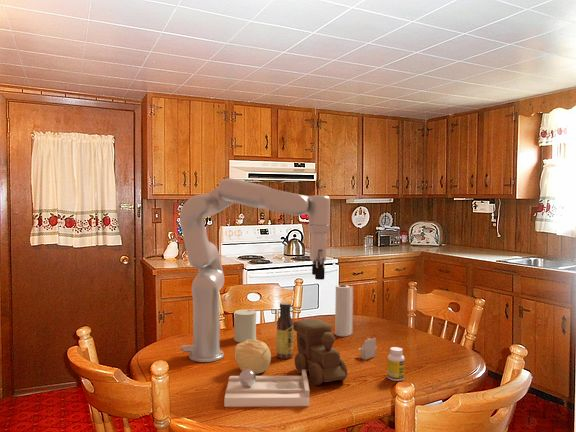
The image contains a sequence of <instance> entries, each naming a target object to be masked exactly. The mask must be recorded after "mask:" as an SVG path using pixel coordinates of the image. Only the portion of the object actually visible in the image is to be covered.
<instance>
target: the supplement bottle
mask: <svg viewBox="0 0 576 432" xmlns="http://www.w3.org/2000/svg"><path fill="white" fill-rule="evenodd" d="M403 350H404V349H403V348H402V347H397V346H392V347H390V348H389V354H388V355H387V371H386V374H387V375H386V377H387V379H389V381H390V380H391V381H396V382H401V381H403V380H404V379H405V360H406V358H405V356H404V355H403V353H404V352H403Z"/></svg>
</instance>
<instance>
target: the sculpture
mask: <svg viewBox="0 0 576 432" xmlns="http://www.w3.org/2000/svg"><path fill="white" fill-rule="evenodd" d="M234 360H235V362H236V363H237V365H238V368H239V369H240V370H241V372H242V371H243V370H246V369H250V370H252V371H253V372H254V373H255V375H259V374H261V373H264V372H265V371H267V370H268V368H269V367H270V365H271V360H272V353H271V350H270V348H269V345H267V344H266V343H265V342H264V341H261V340H258V339H256V340H248V339H247V340H246V341H244V342H242V343H240V342H238V343H237V344H236V345H235V349H234Z"/></svg>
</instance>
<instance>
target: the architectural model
mask: <svg viewBox="0 0 576 432" xmlns="http://www.w3.org/2000/svg"><path fill="white" fill-rule="evenodd" d="M376 343H377V339H376V337H374V338H370V337H367V338H366V340H364V343H363V344H362V345H360V347H359V348H358V350H360V359H362V360H368V359H372V357H373V358H375V357H376V356H377V355H376V352H377V350H376V349H378V346H376V345H377V344H376Z"/></svg>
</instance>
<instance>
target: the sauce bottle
mask: <svg viewBox="0 0 576 432" xmlns="http://www.w3.org/2000/svg"><path fill="white" fill-rule="evenodd" d="M291 307H292V305H291V303H290V302H280V303H279V308H280V312H279V317H278V318H277V320H276V345H275V346H276V349H275V350H276V357H277V358H279V359H284V360H287V359H291V358H293V354H294V330H293V322H294V321H293V319H292V316H291Z"/></svg>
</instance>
